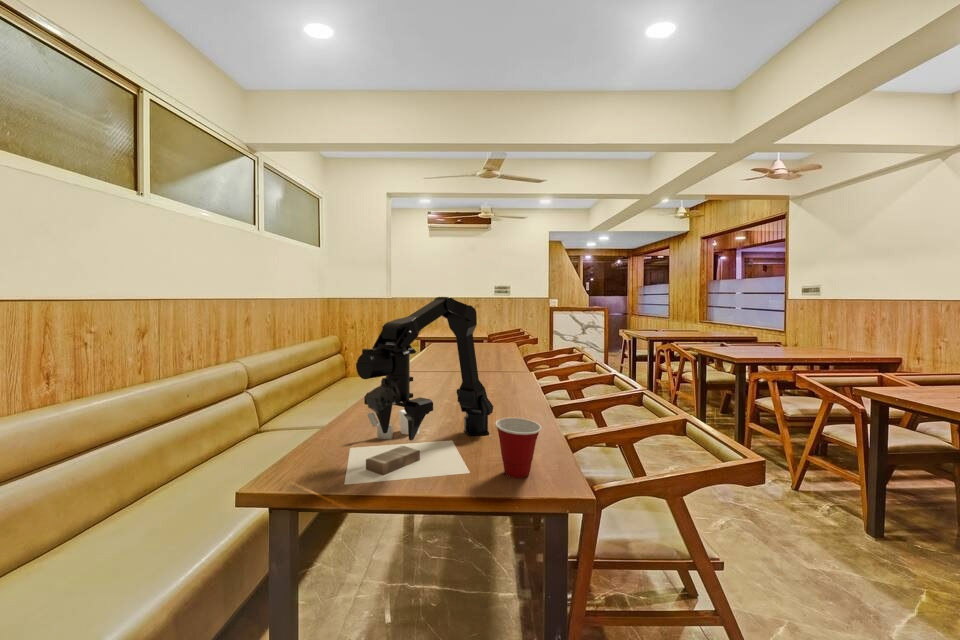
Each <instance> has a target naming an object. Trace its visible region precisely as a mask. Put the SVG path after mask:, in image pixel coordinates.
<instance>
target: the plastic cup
mask: <svg viewBox="0 0 960 640" xmlns="http://www.w3.org/2000/svg"><path fill="white" fill-rule="evenodd" d="M495 428H496V429H497V433H498V439H499V447H500V452H501V457H502V458H501V459H502V462H503V463H502V464H503V465H502V466H503V471H504V474H505V475H506V476H507V475H508V476H507V477H509V476H510V477H509V478H511V477H514V478H513V479H523V478H522V477H525V478H527V477H528V476H530V472H531V468H532V461H533V458H534V454H535V450H536V449H535V448H536V444H537V440H538V436H539V433H540V432H541V431H542V429H543V428H542V426H541V424H540V423H538V422H536V421H533V420H531V419H527V418H523V417H503V418H500V419H497V420H496V421H495ZM526 476H527V477H526Z"/></svg>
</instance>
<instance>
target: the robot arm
mask: <svg viewBox="0 0 960 640" xmlns="http://www.w3.org/2000/svg"><path fill="white" fill-rule="evenodd" d="M441 317H443V318H444V319H445V320H446V319H447V323H448V327H449V329H450V330H451V332H452V333H453V334H454V336H455V339H456V340H455V341H456V348H457V354H458V362H459V368H460V375H461V384H460V387H459V388H457V389H456V395H457V403H458V404H459V406H460V410H461V412H463V413H465V416H464V417H463V419H464V420H463V421H464V422H463V423H464V424H463V426H464V427H463V429H464V432H465V433H466V434H467V435H468V436H469V437H471V436H483V435H484V436H485V435H490V431H489V416H490V415H491V414H492V413H493V411H494V405H493V404H492V402H491V400H490V399H489V398H488V394H487V392H486V388H485V386H484V385H483V384H482V382H481V380H479V379H480V378H479V371H478V364H477V358H476V357H477V356H476V351H475V349H476V348H475V343H474V342H475V341H474V332H475V329H476V328H477V325H478V324H477V320H478V319H477V318H478V317H477V310H476V308H475V307H474V306H472V305H470V304H469V305H468V304H466V303H464V302H461V301H458V300H455V299H454V298H453V297H450V296H437V297H435V298H434V299H433V300H432V301H431V302H429V303H428V304H425V305H424V306H423V307H421V308H419V309H418V310H416V311H415V312H413V313H411V314H409V315H408V316H405V317H400V318H397V319H393V320H390V321H388V322H386V323H384V324H383V325H382V329H381V331H380V333H379V336H378V337H377V339H376V341H375V342H374V344H373V346H372V348H362V349H361V355H359V356H358V358H357V361H356V363H355V369H356V372H357V374H358V377H359V378H361V379H363V380H369V379H374V378H380V377H382V378H381V381H380V382H381V384H380V385H379V386H377V387H375V388H373V389H372V390H371V391H369V392H366V394H365V396H364V399H363V400H364V401H363V402H364V405H367V407H368V409H370V410H372V411H373V412H374V414H375V416H376V418H377V421H378V423H379V424H380V425H381V428H382V431H383V433H384V434H385V433H387V432H388V428H389V423H390V424H391V422H390V421H391V416H392V415H391V414H392V410H393V406H397V407H402V408H403V409H404V410H405V412H406V413H407V414H404V416H405V417H406V418H407V420H408V440H409V441H410V442H412V441H414V439H415V437H416V436H417V435H416V433H417V431H418V429H419V426H420V427H421V424H422V422H423V421H424V419H425V417H426V415H428V414H430V412H433V411H434V402H433V401H432V399H430V398H426V397H417V398H414V393H413V392H410V389H411V387H410V386H411V385H410V383H411V382H414V376H410V375H411V374H410V372H411V371H410V367H411V366H410V363H411V361H410V360H411V359H410V356H411V355H413V354H416V353H417V350H415V348H413V347H412V345H411V344H412V343H413V342H414V341H416V339H418V337H419V335H420V332H421V331H422V330H423V329H425V328H426V327H428V326H429V325H430V324H432V323H433V322H434V321H436V320H438V319H439V318H441Z"/></svg>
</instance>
